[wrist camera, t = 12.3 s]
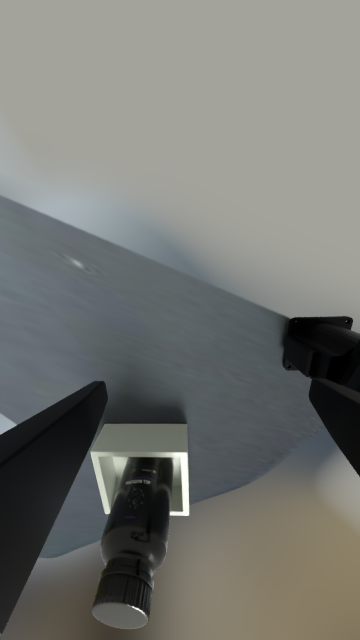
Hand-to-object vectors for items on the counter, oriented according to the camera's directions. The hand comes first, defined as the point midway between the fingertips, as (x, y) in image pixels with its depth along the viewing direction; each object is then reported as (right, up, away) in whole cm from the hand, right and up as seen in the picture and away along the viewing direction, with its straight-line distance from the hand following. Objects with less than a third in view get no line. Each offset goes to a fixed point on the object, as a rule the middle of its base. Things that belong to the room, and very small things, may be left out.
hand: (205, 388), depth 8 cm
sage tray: (-6, -17, +19) cm, 26 cm away
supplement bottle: (-5, -18, +18) cm, 26 cm away
